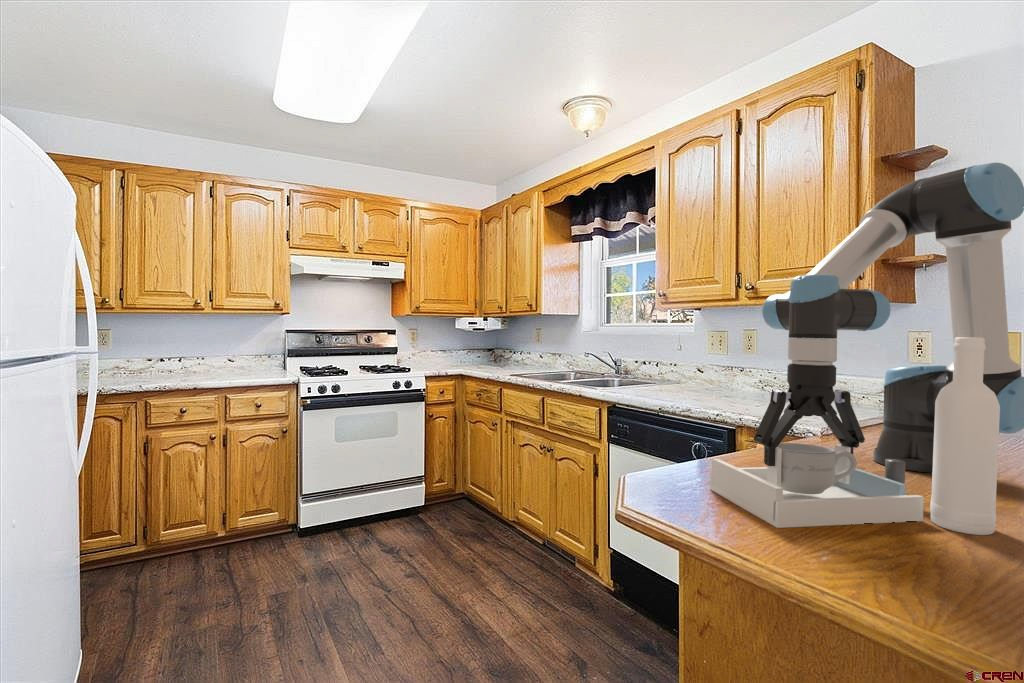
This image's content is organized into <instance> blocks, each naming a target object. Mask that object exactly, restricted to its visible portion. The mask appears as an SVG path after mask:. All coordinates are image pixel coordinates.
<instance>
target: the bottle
mask: <svg viewBox="0 0 1024 683" xmlns="http://www.w3.org/2000/svg"><path fill="white" fill-rule="evenodd" d="M952 349H953V361H954V363H953V381H952V382H950V383H949V384H947V385H946V386H945V387H943V388H942V389H941V390H940V392H939V394H938V396H937V398H936V401H935V422H934V447H933V472H932V473H931V474H932V476H931V478H932V479H931V480H932V481H931V498H930V504H929V507H930V508H929V509H930V510H929V511H930V521H931V522H932V523H933V524H934V525H936V526H938V527H941V528H944V529H946V530H949V531H953V532H957V533H961V534H966V535H974V536H989V535H992V534H994V533H995V532H996V531H995V530H996V523H997V512H996V510H997V508H996V507H997V506H996V505H997V484H998V464H999V462H998V461H999V439H1000V436H999V435H1000V433H999V420H1000V405H999V402H998V400H997V397H996V395H995V393H994V392H993V391H992V390H991V389H990V388H988V387H987V386H986V385H985V384H984V383H983V367H984V351H985V349H986V346H985V339H983V338H971V337H956V338H955V339H954V344H953V345H952Z"/></svg>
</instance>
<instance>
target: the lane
mask: <svg viewBox="0 0 1024 683" xmlns="http://www.w3.org/2000/svg"><path fill="white" fill-rule="evenodd" d="M709 472H710V475H709V478H710V479H709V480H710V481H709V489H710V490H711V491H712V492H714V493H716V494H718V495H719V496H721V497H723V498H724V499H726V500H728V501H730V502H731V503H733V504H735V505H737V506H738V507H740V508H741V509H743V510H745V511H747V512H749V513H750V514H752V515H754V516H756V517H757V518H759V519H761V520H762V521H764V522H766V523H768V524H770V525H771V526H773V527H775V528H776V529H778V528H780V529H783V528H784V529H785V528H803V527H807V528H808V527H825V526H827V527H828V526H845V525H846V526H849V525H851V524H852V525H865V524H864V523H873V524H889V523H890V524H891V523H892V522H895V523H907V522H906V521H917V522H923V521H924V501H925V500H924V496H922V495H919V494H911V495H910V494H909V495H908V494H906V495H903V496H876V497H868V496H865V495H862V494H860V493H857V492H855V491H852V490H849V489H847V488H844V487H842V486H839V485H836V484H832V486H831V487H829V488H828V489H826V490H825V491H824V492H823V493H821V494H801V493H793V492H789V491H785V490H783V488H781V487H779V486H777V485H775V484H772V483H770V482H768V481H767V466H762V467H760V466H758V467H756V466H755V467H751V466H750V467H737V466H735V465H733V464H730V463H728V462H726V461H724V460H722V459H719V458H712V459H711V468H710V471H709Z"/></svg>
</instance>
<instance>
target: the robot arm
mask: <svg viewBox="0 0 1024 683" xmlns="http://www.w3.org/2000/svg"><path fill="white" fill-rule="evenodd" d="M1023 212H1024V183H1023V181H1022V179H1021V178H1020V176H1019V175H1018V174H1017V172H1016V171H1014V169H1013V168H1012V167H1011V166H1009V165H1007V164H1004V163H1002V162H988V163H983V164H978V165H973V166H968V167H963V168H961V169H957V170H953V171H949V172H945V173H941V174H938V175H934V176H929V177H923V178H920V179H915V180H914V181H911V182H908V183H906V184H905V185H903V186H901V187H899V188H898V189H896V190H893V192H891V193H889V195H886V196H885V197H884V198H883V199H881V200H880V201H878V203H876V204H875V205H874V206H872V207H871V208H870V209H869V210H868V211H867V212H866V213H865V214H863V216H862V217H861V218H860V220H859V226H858V227H856V228H855V229H854V230H853V231H852V232H851V233H850V234H849V235H848V236H847V237H846V238H845V239H844V240H843V241H842V242H840V243H839V244H838V245H837V246H836V247H835V248H833V250H831V251H830V253H828V254H827V255H826V256H825V257H824V258H823V259H822V260H821V261H820V262H818V264H816V265H815V267H814V268H812V269H811V270H810V271H809V272H808V273H806V275H805V274H804V275H797V276H795V277H794V278H792V279H791V282H790V288H789V290H788V291H787V292H785V293H783V292H780V293H778V294H772V295H770V296H768V297H767V298H766V299H765V301H764V303H763V306H762V312H761V313H762V318H763V319H764V322H765V323H766V325H767V326H768V327H770V328H772V329H775V330H784V331H788V339H787V340H788V343H787V344H788V346H787V348H788V349H787V359H788V360H789V361H791V363H789V364H788V365H787V374H786V375H787V378H786V382H787V384H788V390H787V391H783V390H778V389H772V390H771V394H770V401H769V404H768V406H767V409H766V410H765V412H764V415H763V417H762V419H761V422H759V426H758V427H757V430H756V432H755V434H754V436H753V441H754V442H755V443H758V444H761V445H763V447H764V449H763V456H764V457H763V462H764V465H766V467H767V481H768V482H770V483H772V484H775V485H777V486H781V461H782V449H780V448H777V446H778V445H779V444H780V443H782V441H783V440H784V439H785V438H786V436H787V434H789V432H790V431H791V430H792V428H793V427H794V426H795V424H796V423H797V422H798V421H799V420H802V418H803V417H812V416H813V417H814V416H816V417H821V418H822V420H823V421H824V423H825V424H826V425H827V427H828V428H829V429H830V431H831V432H832V434H833V435H834V437H835V438H836V440H838V442H839V444H838V443H836V444H835V446H834V447H835V448H834V450H835V453H836V452H839V451H847V452H850V453H851V454H853V455H854V448H855V449H856V448H859V446H860V444H863V443H865V440H866V438H865V436H864V433H863V431H862V429H861V426H860V423H859V420H858V418H857V416H856V413H855V410H854V408H853V405H852V402H851V401H852V399H851V397H852V396H851V392H850V391H847V390H843V389H842V390H841V389H836V390H834V386H836V384H837V367H836V365H833V364H834V363H836V362H837V360H838V331H858V332H867V331H873V330H877V329H880V328H881V327H882V326H884V325H885V324H886V323H887V321H888V320H889V318H890V316H891V303H890V301H889V299H888V298H887V296H886V295H885V294H883V293H881V292H879V291H878V290H872V289H871V290H870V289H869V288H863V289H859V288H855V289H854V288H849V287H850V286H851V285H852V284H853V283H854V282H855V281H856V280H857V279H858V278H859V277H860V276H861V275H862V274H864V272H865V271H866V270H867V269H868V268H869V267H870V266H871V265H872V264H874V263H875V262H876V261H877V260H878V258H880V256H882V255H883V254H884V253H885V252H886V251H887V250H888V249H891V248H895V247H897V246H898V245H900V244H901V243H903V241H905V240H906V239H908V238H911V237H913V236H916V235H921V234H927V233H935V241H936V242H938V243H939V244H940V245H943V247H944V248H945V252H946V267H947V279H948V291H949V292H948V293H949V304H950V316H951V317H950V318H951V328H952V344H953V345H954V339H955V338H956V337H971V338H983V339H985V346H986V349H985V351H984V367H983V383H984V384H985V385H986V386H987V387H988V388H990V389H991V390H992V391H993V392H994V393H995V395H996V397H997V400H998V402H999V405H1000V420H999V434H1006V435H1011V434H1016V433H1020V432H1021V431H1022V430H1024V376H1022V367H1021V365H1020V364H1019V363H1017V362H1016V361H1015V360H1013V359H1011V355H1010V354H1011V353H1010V342H1009V341H1010V340H1009V326H1008V325H1009V324H1008V313H1007V299H1006V298H1007V297H1006V284H1005V269H1004V268H1005V267H1004V256H1003V243H1002V240H1003V239H1004V237H1005V236H1006V235H1008V234H1009V233H1010V232H1011V231H1012V221H1015V220H1016V219H1018V218H1019V217H1021V216H1022V214H1023ZM953 363H954V360H953V361H952V362H951V363H949V364H948V365H942V364H941V365H920V366H919V365H918V366H917V365H915V366H898V367H891V368H889V369H888V370H886V372H885V375H884V383H883V423H882V424H883V425H882V431H881V434H880V435H879V438H878V442H877V444H876V446H875V447H874V449H873V452H872V453H873V461H874V462H876V463H877V464H881V465H883V466H885V459H897V460H902V461H905V462H906V464H905V471H906V470H907V471H913V472H919V473H931V474H932V472H933V447H934V422H935V401H936V398H937V396H938V394H939V392H940V390H941V389H942V388H943V387H945V386H946V385H947V384H949V383H950V382H952V381H953ZM788 402H789V404H787V406H786V403H788ZM833 402H834V406H835V408H836V409H835V408H834V406H833V405H832V404H833ZM785 406H786V407H785ZM836 410H837V411H836ZM782 413H783V414H782ZM781 415H782V416H781ZM838 415H839V416H838ZM849 465H850V460H849V458H847V457H844V456H843V457H841V458H839V460H838V461H837V464H836V465H835V474H836V473H840V472H842V471H844V470H846V469H847V468H848V467H849ZM838 482H841V483H844V484H850V474H849V475H848V476H846V477H843V478H841V479H839V480H838Z"/></svg>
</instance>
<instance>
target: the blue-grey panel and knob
mask: <svg viewBox="0 0 1024 683" xmlns="http://www.w3.org/2000/svg"><path fill="white" fill-rule="evenodd" d="M905 464H906V462H905V461H902V460H897V459H885V465H884V476H880V475H878V474H875V473H872V472H868V471H866V470H863V469H861V468H857V467H856V469H855V470H854V471H853V472H852V473H851V474H850V484H844V483H841V482H838V481H837V482H836V483H834V484H836V485H839V486H842V487H844V488H847V489H849V490H852V491H855V492H857V493H860V494H862V495H865V496H868V497H876V496H903V495H907V494H906V493H907V484H906V470H905Z"/></svg>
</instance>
